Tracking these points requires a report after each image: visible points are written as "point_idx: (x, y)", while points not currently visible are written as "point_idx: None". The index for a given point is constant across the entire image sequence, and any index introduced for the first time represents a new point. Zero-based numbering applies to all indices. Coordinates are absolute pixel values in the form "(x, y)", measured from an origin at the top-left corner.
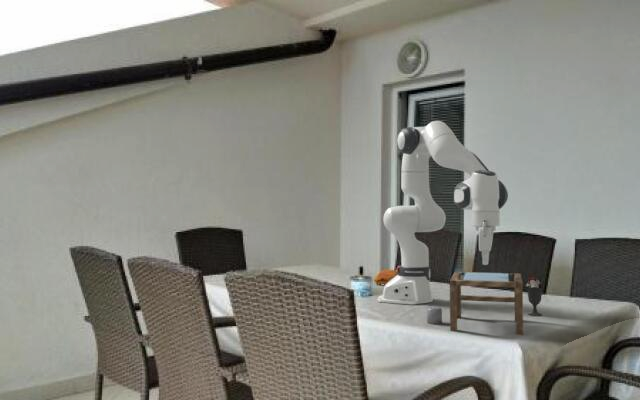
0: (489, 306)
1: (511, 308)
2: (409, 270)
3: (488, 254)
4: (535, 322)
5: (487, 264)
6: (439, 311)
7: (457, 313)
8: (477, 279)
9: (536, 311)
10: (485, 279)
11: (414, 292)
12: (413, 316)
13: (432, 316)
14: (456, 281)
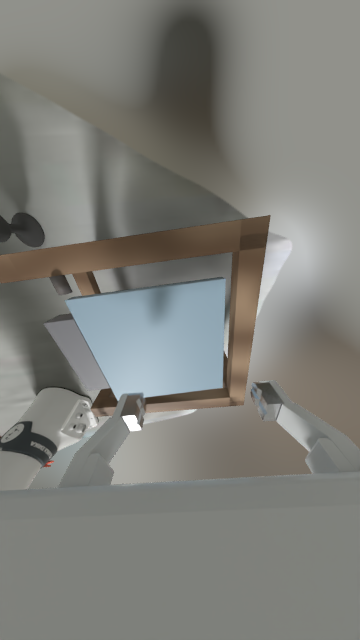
0: (20, 320)
1: (5, 283)
2: (46, 456)
3: (343, 435)
4: (102, 222)
5: (274, 381)
6: None
7: None
8: (210, 364)
9: (21, 225)
10: (206, 347)
11: (72, 413)
12: None
13: None
14: (244, 394)
